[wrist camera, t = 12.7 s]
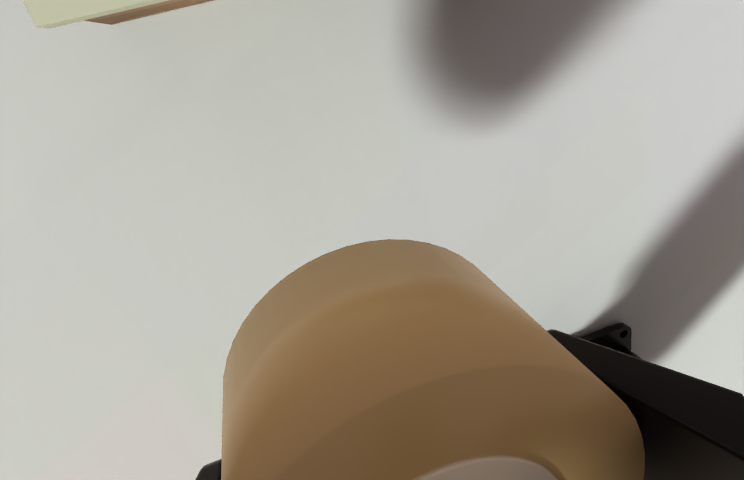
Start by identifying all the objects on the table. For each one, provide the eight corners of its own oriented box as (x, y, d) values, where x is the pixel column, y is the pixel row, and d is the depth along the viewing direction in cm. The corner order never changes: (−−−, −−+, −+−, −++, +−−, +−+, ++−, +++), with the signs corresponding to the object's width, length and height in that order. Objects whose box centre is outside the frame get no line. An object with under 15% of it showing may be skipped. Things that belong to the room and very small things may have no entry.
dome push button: (268, 205, 8) (298, 338, 4) (551, 271, 10) (723, 393, 7) (192, 483, 10) (171, 736, 6) (448, 487, 12) (539, 674, 9)
